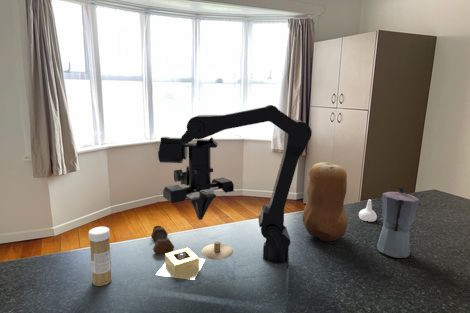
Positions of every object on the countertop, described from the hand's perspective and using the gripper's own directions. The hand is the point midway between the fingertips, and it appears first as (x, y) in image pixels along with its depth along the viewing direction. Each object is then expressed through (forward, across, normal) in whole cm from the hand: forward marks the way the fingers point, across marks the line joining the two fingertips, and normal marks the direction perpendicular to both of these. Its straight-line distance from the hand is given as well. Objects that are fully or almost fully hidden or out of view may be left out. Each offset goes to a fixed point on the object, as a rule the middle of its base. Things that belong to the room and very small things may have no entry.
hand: (200, 219), depth 84 cm
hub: (+12, +7, +2) cm, 14 cm away
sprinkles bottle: (+12, +25, -3) cm, 28 cm away
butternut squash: (+12, -40, +10) cm, 43 cm away
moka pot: (+12, -50, +28) cm, 59 cm away
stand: (+12, -5, 0) cm, 13 cm away
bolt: (+12, +6, -13) cm, 19 cm away
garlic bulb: (+12, -67, +8) cm, 69 cm away
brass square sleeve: (+11, +7, +2) cm, 13 cm away
